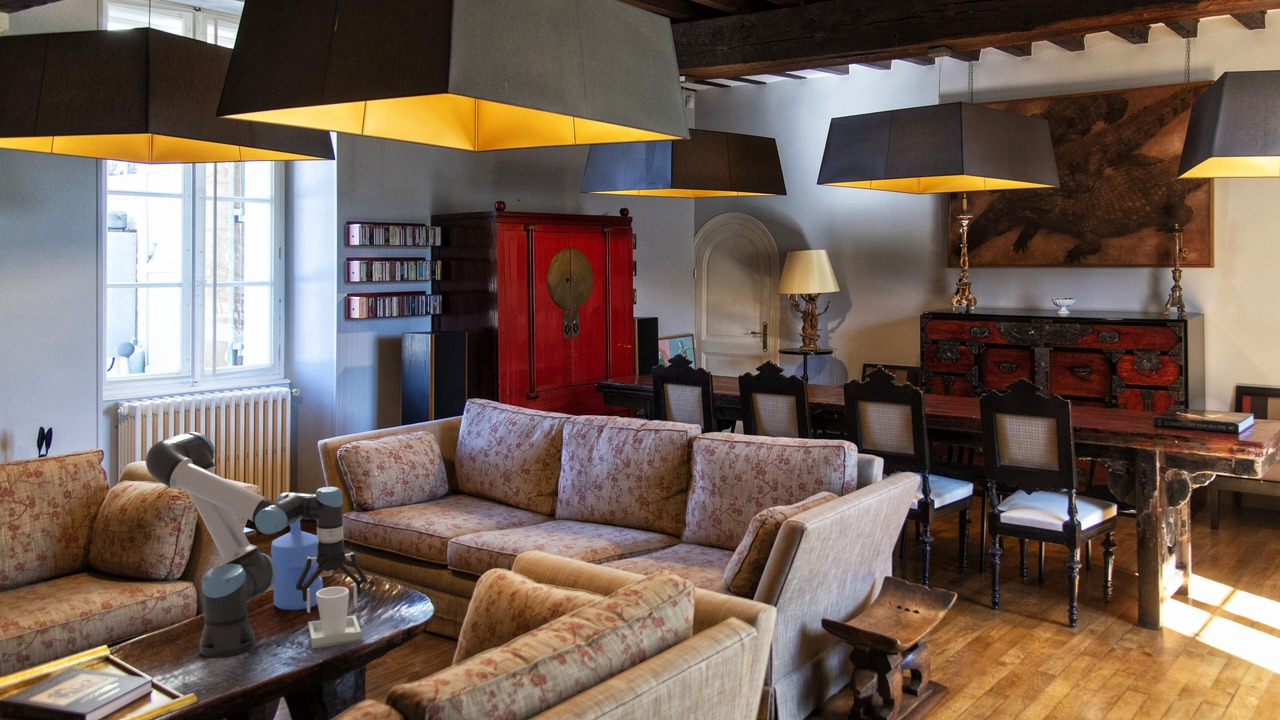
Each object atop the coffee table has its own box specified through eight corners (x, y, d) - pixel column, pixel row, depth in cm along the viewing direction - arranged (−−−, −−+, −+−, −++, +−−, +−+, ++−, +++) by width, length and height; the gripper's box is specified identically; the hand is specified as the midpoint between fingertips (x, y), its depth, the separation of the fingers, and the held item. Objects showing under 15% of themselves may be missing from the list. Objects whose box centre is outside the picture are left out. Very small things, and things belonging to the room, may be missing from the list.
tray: (312, 648, 310) (311, 638, 310) (308, 631, 323) (308, 621, 323) (361, 641, 315) (361, 631, 315) (355, 624, 328) (355, 615, 328)
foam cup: (344, 639, 314) (343, 597, 313) (313, 639, 314) (311, 597, 313) (354, 627, 324) (352, 586, 322) (324, 627, 324) (322, 586, 322)
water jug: (263, 607, 343) (258, 523, 340) (296, 591, 358) (292, 510, 354) (301, 613, 337) (297, 528, 334) (334, 597, 352) (330, 515, 348)
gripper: (286, 547, 307) (289, 617, 310) (375, 539, 316) (376, 607, 319) (285, 540, 314) (287, 608, 317) (371, 532, 323) (373, 598, 326)
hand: (332, 608), depth 318 cm, fingers open, 13 cm apart
